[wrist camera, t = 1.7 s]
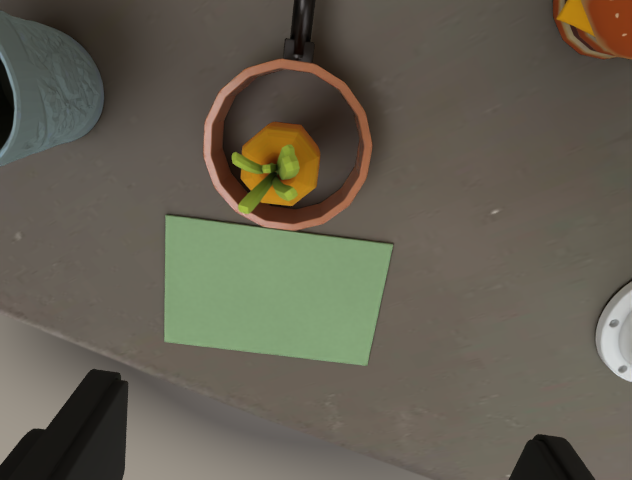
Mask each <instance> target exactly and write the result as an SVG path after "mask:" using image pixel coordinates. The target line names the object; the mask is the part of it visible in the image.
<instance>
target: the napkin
mask: <svg viewBox="0 0 632 480" xmlns="http://www.w3.org/2000/svg"><path fill="white" fill-rule="evenodd" d="M392 248H393V244H390V243H382V242H374V241H367V240H359V239H351V238H344V237H336V236H328V235H321V234H313V233H306V232H298V231H290V230H283V229H275V228H267V227H260V226H252V225H244V224H237V223H229V222H221V221H214V220H206V219H198V218H191V217H183V216H175V215H168V214H167V215H166V231H165V325H164V342H170V343H179V344H187V345H196V346H204V347H213V348H221V349H230V350H238V351H247V352H255V353H263V354H272V355H280V356H289V357H297V358H306V359H314V360H323V361H331V362H340V363H348V364H357V365H365V366H367V364H368V359H369V354H370V350H371V345H372V340H373V336H374V331H375V327H376V322H377V317H378V313H379V308H380V304H381V299H382V294H383V290H384V285H385V280H386V276H387V271H388V267H389V262H390V257H391V253H392Z"/></svg>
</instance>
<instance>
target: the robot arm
mask: <svg viewBox="0 0 632 480" xmlns="http://www.w3.org/2000/svg"><path fill="white" fill-rule="evenodd" d="M595 342H596V347H597V351H598V353H599V355H600V357H601V359H602V361H603V362H604V363H605V364H606V365H607V366H608V367H609V368H610V369H611V370H612V371H613V372H614V373H615V374H616V375H618V376H619V377H621V378H623V379H625V380H627V381H630V382H632V281H631V282H630V283H629V284H627V285H626V286H625V287H623V288H622V289H621V290H620V291H619V292H618V293H617V294H616V295H615V296H614V297H613V298H612V299H611V300H610V302H609V303H608V304H607V306H606V307H605V309H604V310H603V312H602V314H601V316H600V318H599V321H598V325H597V328H596V340H595ZM127 403H128V382H127V381H123V380H121V375H120V373H117V372H110V371H103V370H96V369H92V370H91V371H90V372H89V373H88V374H87V375H86V376H85V378H84V379H83V380H82V382H81V383H80V384H79V386H78V387H77V388H76V390H75V391H74V392H73V394H72V395H71V396H70V398H69V399H68V400H67V402H66V403H65V404H64V406H63V407H62V408H61V410H60V411H59V412H58V414H57V415H56V416H55V418H54V419H53V420H52V422H51V423H50V424H49V426H48V427H47V428H46V430H44V429H32V430H31V431H29V432H28V433H27V434H26V435H25V436H24V437H23V438H22V439H21V440H20V441H19V443H18V444H17V445H16V447H15V448H14V449H13V451H11V453H10V454H9V455H8V457H7V458H6V459H5V460H4V461H3V463H2V464H1V465H0V480H122V478H123V475H124V470H125V449H126V427H127V426H126V425H127ZM509 480H595V479H594V477H593V476H592V474H591V473H590V471H589V470H588V469H587V467H586V466H585V464H584V463H583V462H582V460H581V459H580V457H579V456H578V454H577V453H576V452H575V450H574V449H573V447H572V446H571V445H570V443H569V442H568V441H567V440H566V439H564V438H562V437H555V436H548V435H542V434H538V435H536V436H535V437H534V438H533V439H532V440H529V441H528V442H527V443H526V445H525V448H524V450H523V452H522V454H521V456H520V458H519V460H518V462H517V464H516V466H515V468H514V470H513V472H512V474H511V476H510V478H509Z"/></svg>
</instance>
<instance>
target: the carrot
mask: <svg viewBox="0 0 632 480" xmlns="http://www.w3.org/2000/svg"><path fill="white" fill-rule="evenodd" d="M319 162H320V150H319V148H318V146H317V144H316V143H315V142H314V141H313V139H312V138H311V137H310V135H309V134H308V133H307V132H306V130H305V129H304V128H303V126H302V125H297V124H289V123H281V122H272V123H270V124H268V125H267V126H266V127H264V128H263V129H262V130H261V131H260V132H258V133H257V134H256V135H255V136H254V137H253V138H251V139H250V140H249V141H248V142H247V143H245V144H244V145H243V147H242V155H241V154H239V153H237V152H234V153H233V154H232V163H233V164H234V165H236V166H237V167H239V168H241V180H242V181H243V182H244V183H245V184H246V186H247V187H248V188H249V189H250V190H251V191H250V192H249V193H248V194H247V195H246V196H245V197H244V198H243V199H242V201H241V202H240V203H239V204H238V209H239V212H242V213H244V214H249V213H250V212H252V211H253V210H254V208H255V207H256V206H257V205H258V204H259V202H261V203H269V204H278V205H287V206H293V205H294V204H295V203H296V202H298V201H299V200H300V199H302V198H303V197H304V196H305V195H307V194H308V193H309V192H311V191H312V190H313V189H314V188H316V186H317V179H318V171H319Z"/></svg>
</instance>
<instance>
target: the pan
mask: <svg viewBox="0 0 632 480" xmlns="http://www.w3.org/2000/svg"><path fill="white" fill-rule="evenodd" d="M314 8H315V0H294V6H293V16H292V26H291V35H290V39H287V38H286V39H285V45H284V55H283V59H276V60H272V61H269V62H265V63H262V64H258V65H255V66H251V67H248V68H246V69H244V70H243V71H242V72H241V73H239V74H238V75H237V76H236V77H235V78H234V79H232V80H231V81H230V82H229V83H228V84H227V85H225V86H224V87H223V88H222V89H221V90H220V92H218V94H217V97H216V99H215V101H214V103H213V105H212V107H211V109H210V111H209V113H208V116H207V118H206V120H205V123H204V145H203V157H204V160H205V163H206V166H207V169H208V171H209V174H210V177H211V180H212V183H213V186H214V187H215V189H216V190H217V191H218V192H219V193H220V195H221V196H222V197H223V198H224V199H225V200H226V202H227V203H228V204H229V205H230V206H231V207H232V209H233V210H234V211H236V212H237V213H238V214H240V215H242V216H244V217H246V218H248V219H249V220H251V221H253V222H255V223H257V224H259V225H261V226H264V227H267V228H275V229H283V230H290V231H296V230H300V229H304V228H308V227H312V226H316V225H321V224H324V223H326V222H327V221H328V220H330V219H331V218H333V217H334V216H335V215H337V214H338V213H340V212H341V211H342V210H344V209H345V208H347V207H348V206H349V205H350V204H351V202H352V201H353V199H354V198H355V196H356V195H357V193H358V191H359V190H360V188H361V187H362V185H363V184H364V182H365V180H366V178H367V174H368V169H369V163H370V158H371V152H372V140H371V135H370V130H369V126H368V121H367V116H366V113H365V110H364V109H363V108H362V106H361V105H360V103H359V102H358V100H357V99H356V97H355V96H354V94H353V93H352V92H351V90H350V89H349V87H348V86H347V84H346V83H345V82H343V81H342V80H340V79H339V78H337V77H336V76H334V75H332V74H331V73H329V72H328V71H326V70H324V69H323V68H321V67H320V66H318V65H317V64H314V63H313V55H314V47H315V45H314V43H313V42H310V41H311V33H312V25H313V16H314ZM281 70H292V71H299V72H305V73H312V74H314V75H316V76H318V77H319V78H321V79H322V80H324V81H326V82H327V83H329V84H330V85H332V86H334V87H335V88H337V89H338V91H339V92H340V94H341V95H342V96H343V98H344V99H345V101H346V102H347V104H348V105H349V106H350V108H351V109H352V111H353V112H354V117H355V121H356V126H357V130H358V135H359V145H358V151H357V157H356V163H355V167H354V168H353V170H352V172H351V173H350V175H349V176H348V178H347V180H346V181H345V183H344V184H343V186H342V188H341V189H339V190H338V191H337V192H335V193H334V194H332V195H331V196H330V197H328V198H327V199H326V200H324V201H323V202H322V203H319V204H315V205H311V206H307V207H303V208H300V209H289V208H282V207H274V206H270V205H268V204H266V203H261V202H259V204H258V205H257V206H256V207H255V208H254V210H253V211H252V212H250V213H249V214H244V213H242V212H239V209H238V204H239V203H240V202H241V201H242V199H243V198H244V197H245V196H246V195H247V194H248V193H247V192H246V190H245V189H244V188H243V187H242V186H241V184H240V183H239V182H238V181H237V180H236V178H235V177H234V176H233V175H232V174H231V171H230V168H229V165H228V162H227V159H226V156H225V154H224V151H223V148H222V147H223V130H224V119H225V117H226V115H227V113H228V111H229V109H230V107H231V105H232V103H233V101H234V99H235V97H236V95H237V94H238V93H240V92H241V91H242V90H243V89H244V88H245V87H247V86H248V85H249V84H250V83H251V82H253V81H254V80H255V79H256V78H257V77H260V76H264V75H267V74H271V73H274V72H278V71H281Z"/></svg>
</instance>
